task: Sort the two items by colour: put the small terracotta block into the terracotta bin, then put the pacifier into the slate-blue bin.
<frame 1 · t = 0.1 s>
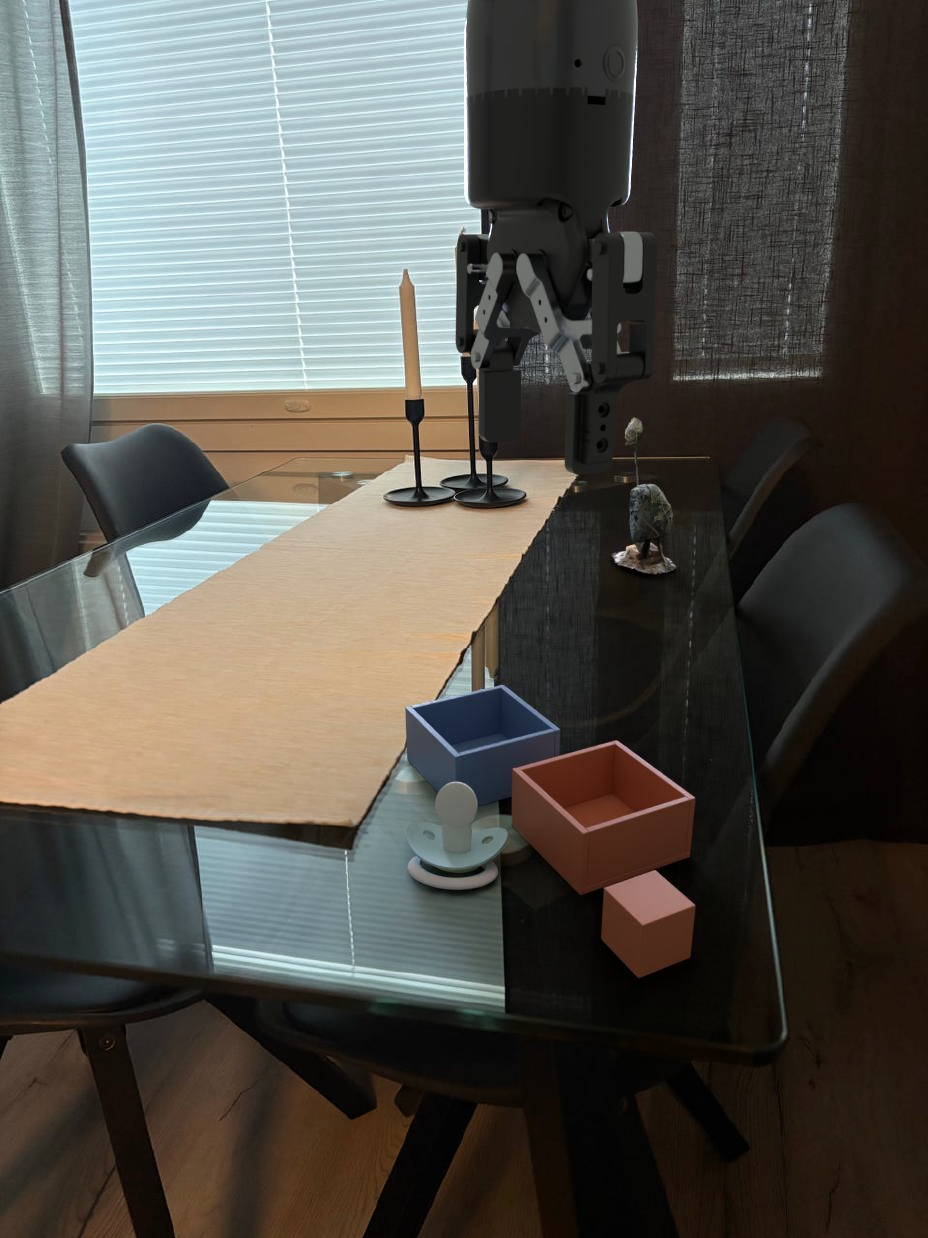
hand: (540, 455, 48), 32 cm above the table, tool pointing down, fingers open, 8 cm apart
plant with pod: (644, 568, 130), on the table
block: (645, 948, 60), on the table
pacifier: (454, 870, 68), on the table
terracotta bin: (598, 841, 71), on the table
blue bin: (480, 770, 81), on the table
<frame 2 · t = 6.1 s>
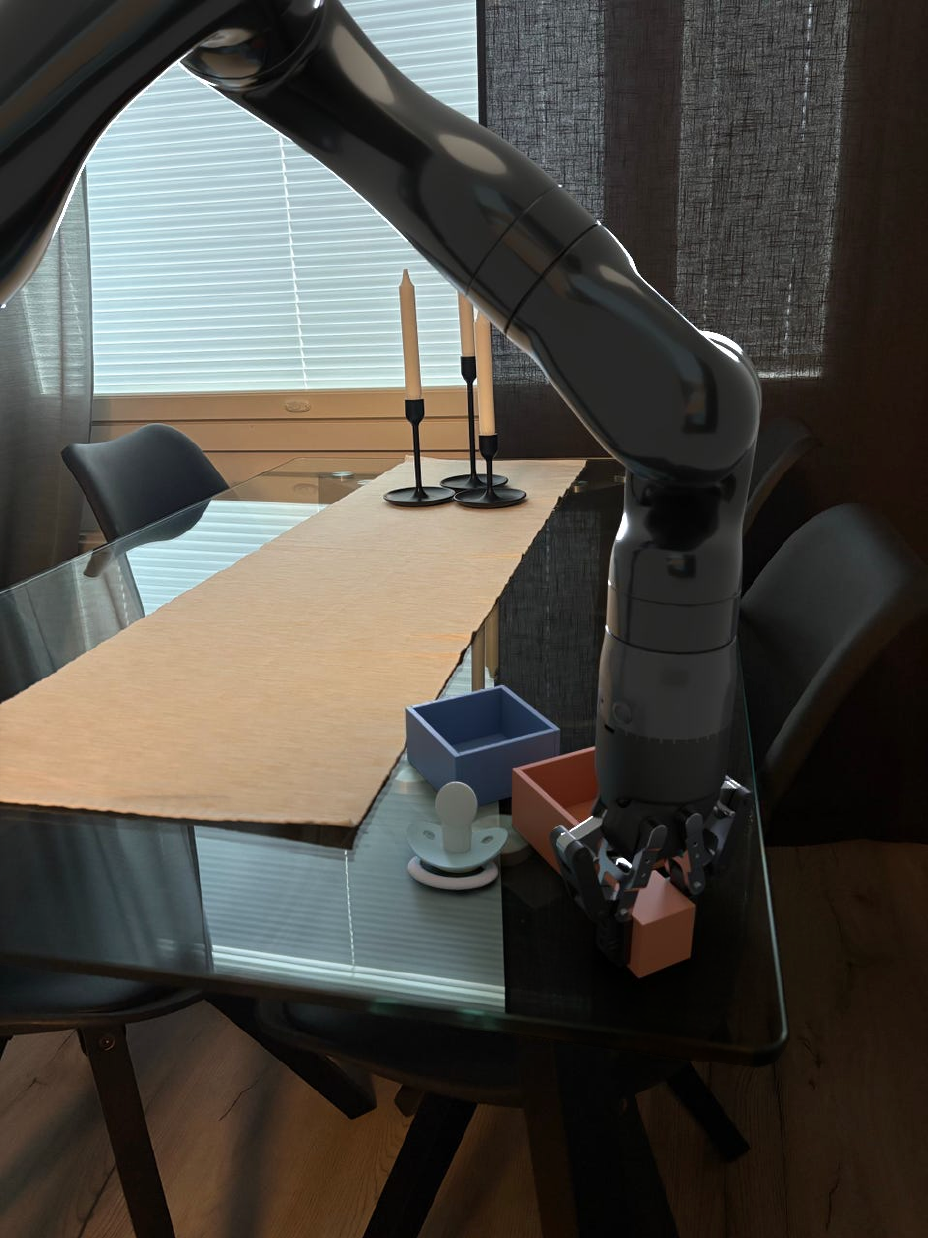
hand: (645, 945, 60), 0 cm above the table, tool pointing down, fingers closed on block, 4 cm apart
block: (645, 948, 60), on the table, touching gripper
everything else where it was.
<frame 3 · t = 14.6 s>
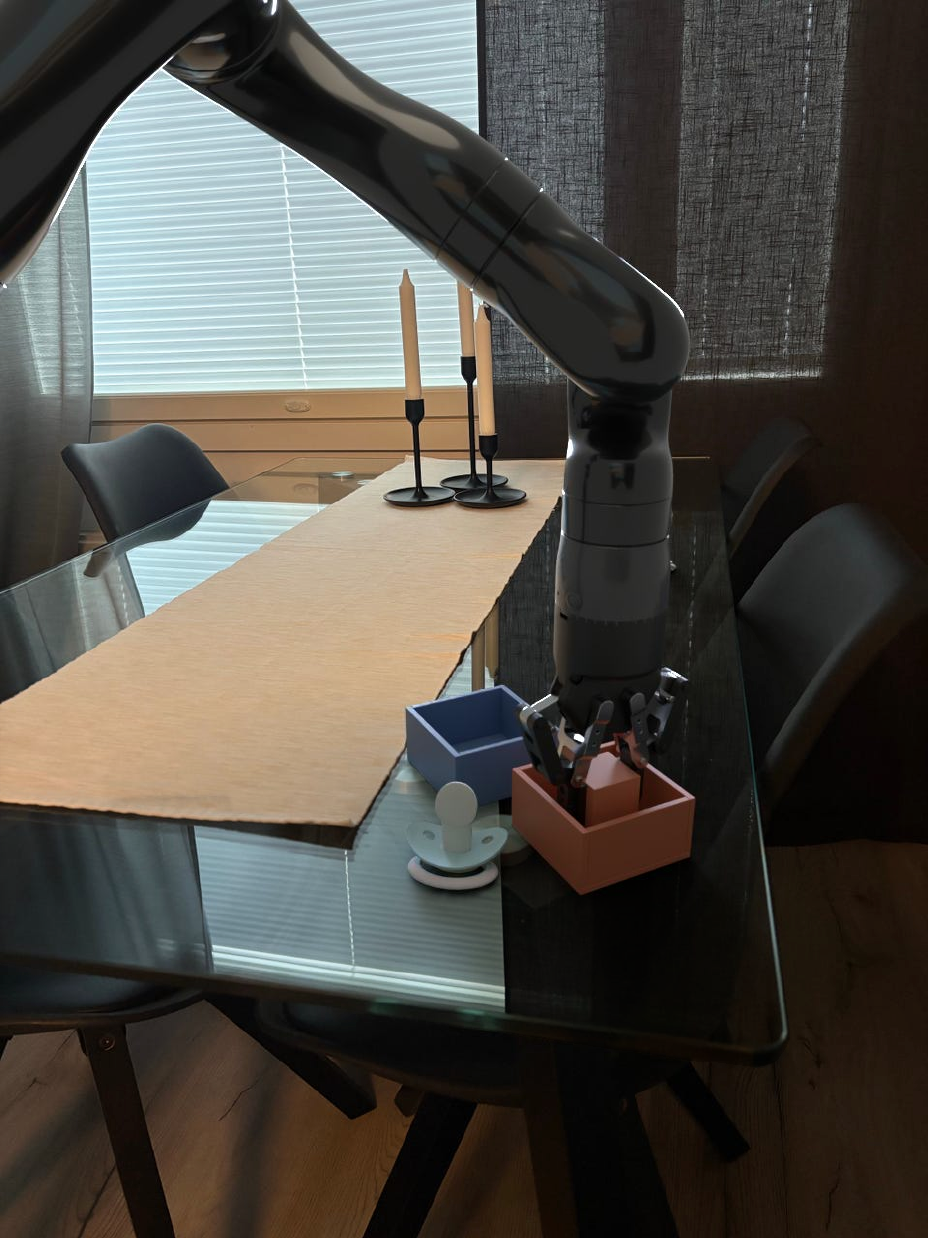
hand: (598, 814, 70), 2 cm above the table, tool pointing down, fingers closed on block, 4 cm apart
block: (598, 817, 70), point 2 cm above the table, touching gripper
everything else where it was.
when the fingers open (5 cm above the table, at t = 23.3 s): block drops 4 cm, resting on terracotta bin.
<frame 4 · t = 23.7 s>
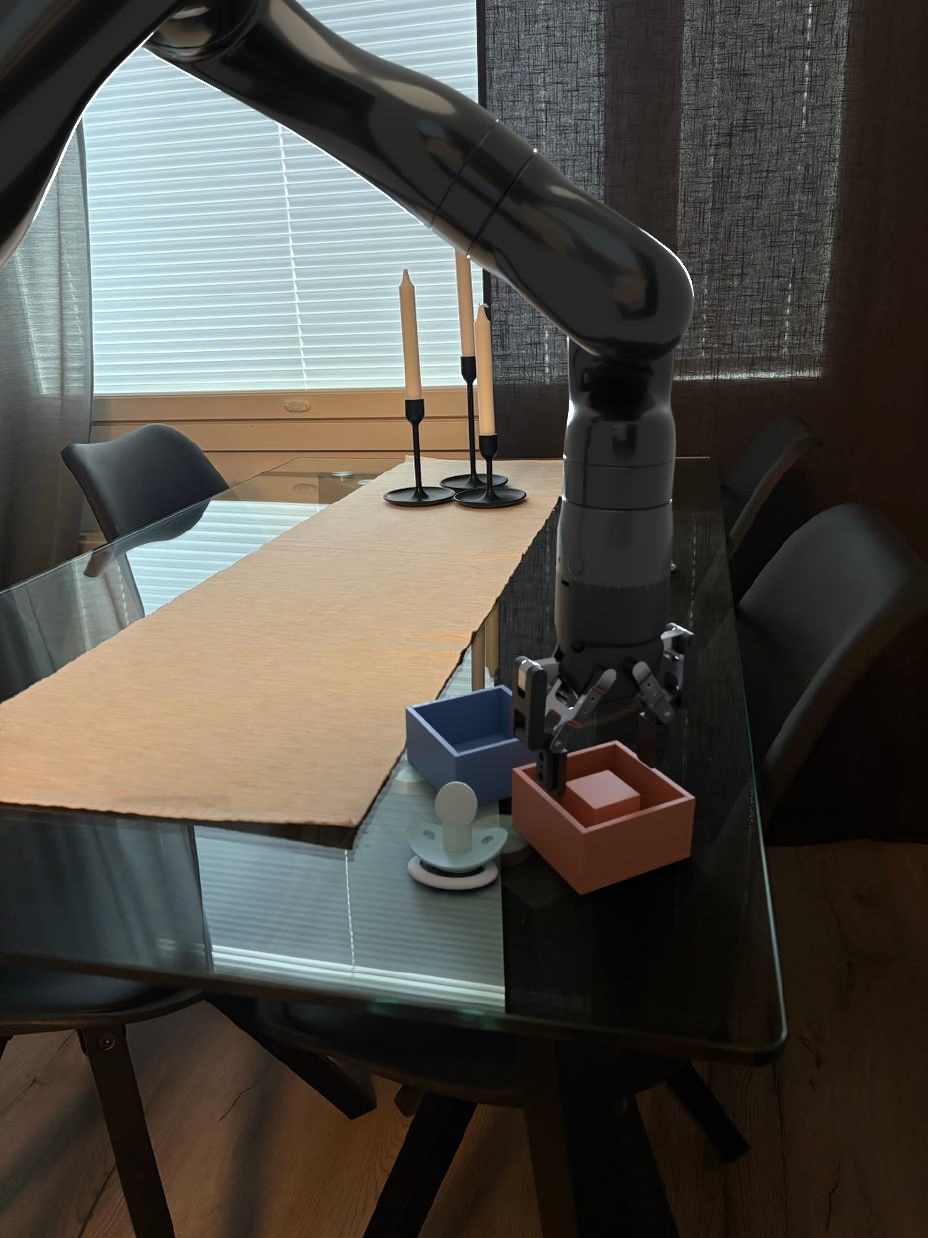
hand: (601, 777, 69), 5 cm above the table, tool pointing down, fingers open, 8 cm apart
block: (599, 835, 71), resting on terracotta bin
everything else where it was.
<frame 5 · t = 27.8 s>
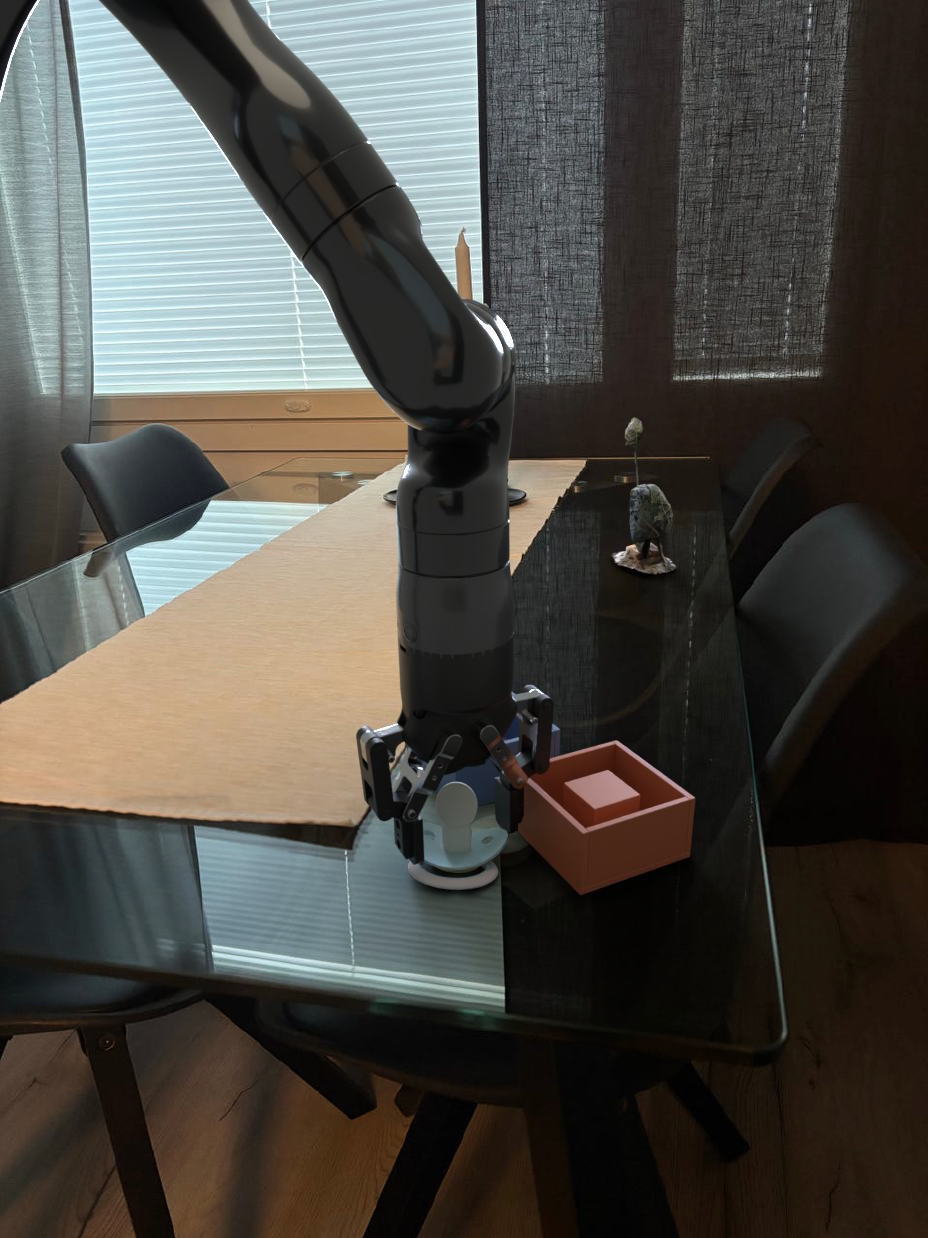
hand: (460, 842, 68), 2 cm above the table, tool pointing down, fingers closed on pacifier, 7 cm apart
pacifier: (454, 870, 68), on the table, touching gripper
everything else where it was.
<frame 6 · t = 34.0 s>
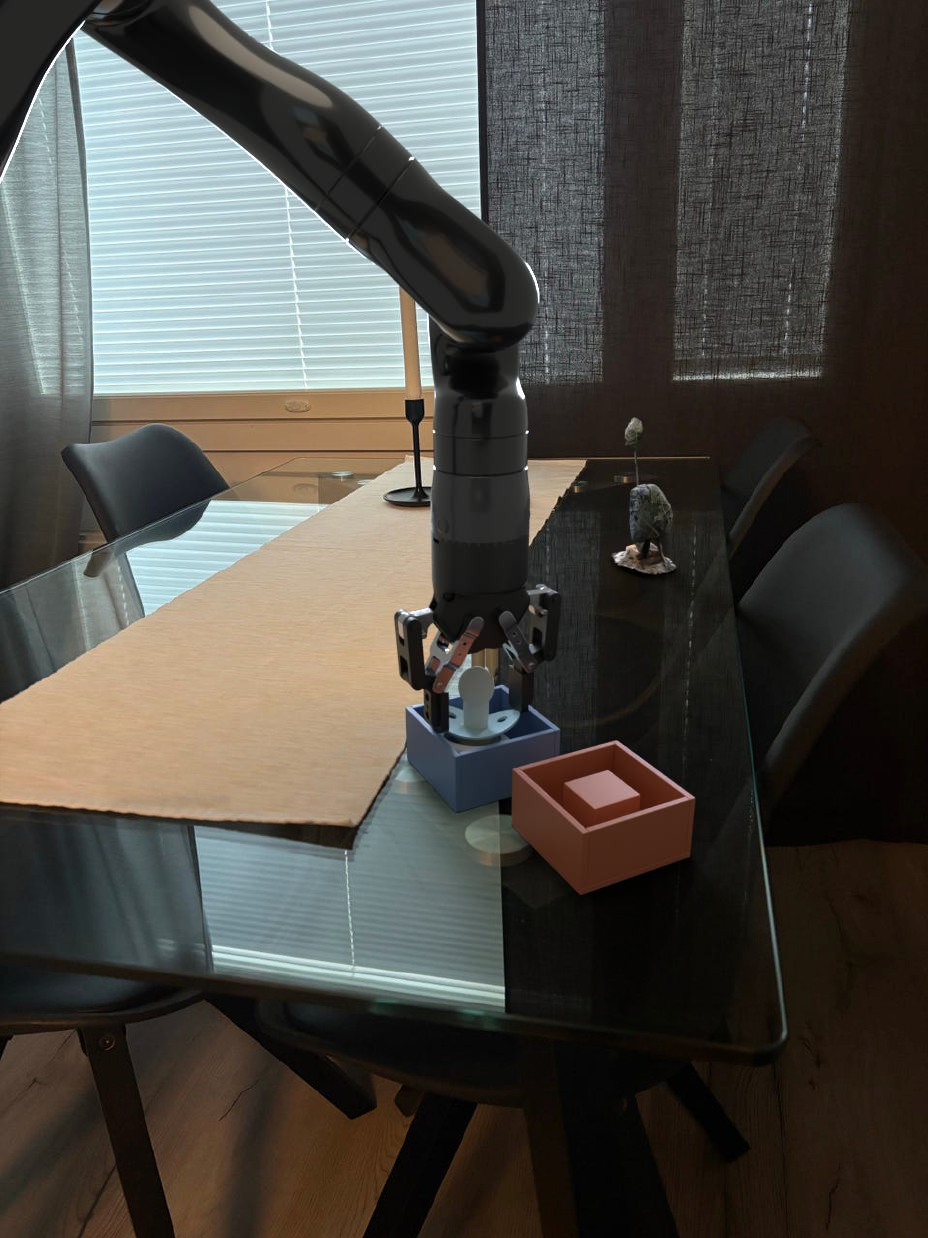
hand: (479, 718, 79), 5 cm above the table, tool pointing down, fingers closed on pacifier, 6 cm apart
pacifier: (473, 743, 79), point 3 cm above the table, touching gripper
everything else where it was.
when the fingers open (5 cm above the table, at t = 37.2 s): pacifier drops 2 cm, resting on blue bin.
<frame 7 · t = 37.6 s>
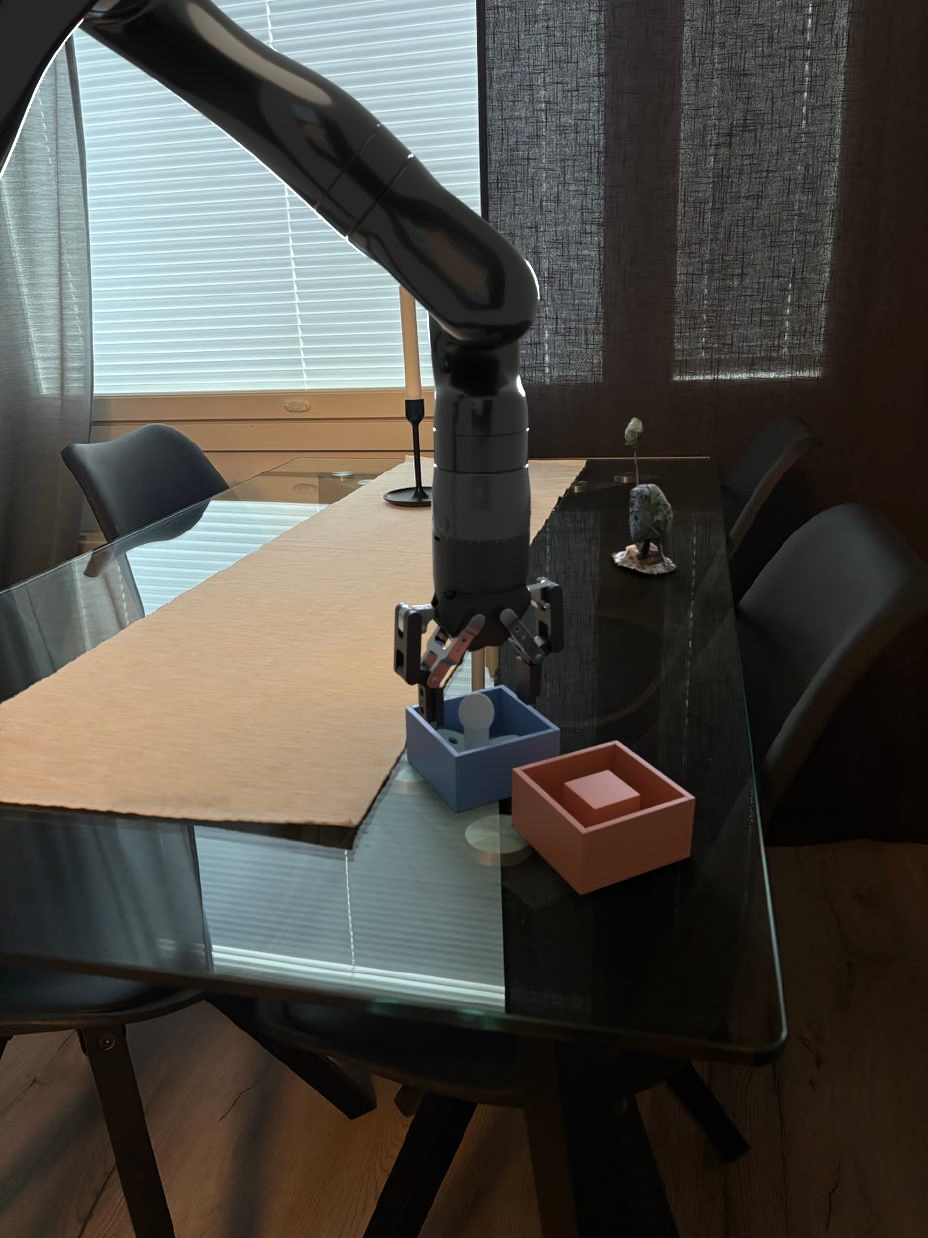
hand: (480, 712, 79), 6 cm above the table, tool pointing down, fingers open, 8 cm apart
pacifier: (474, 769, 80), resting on blue bin
everything else where it was.
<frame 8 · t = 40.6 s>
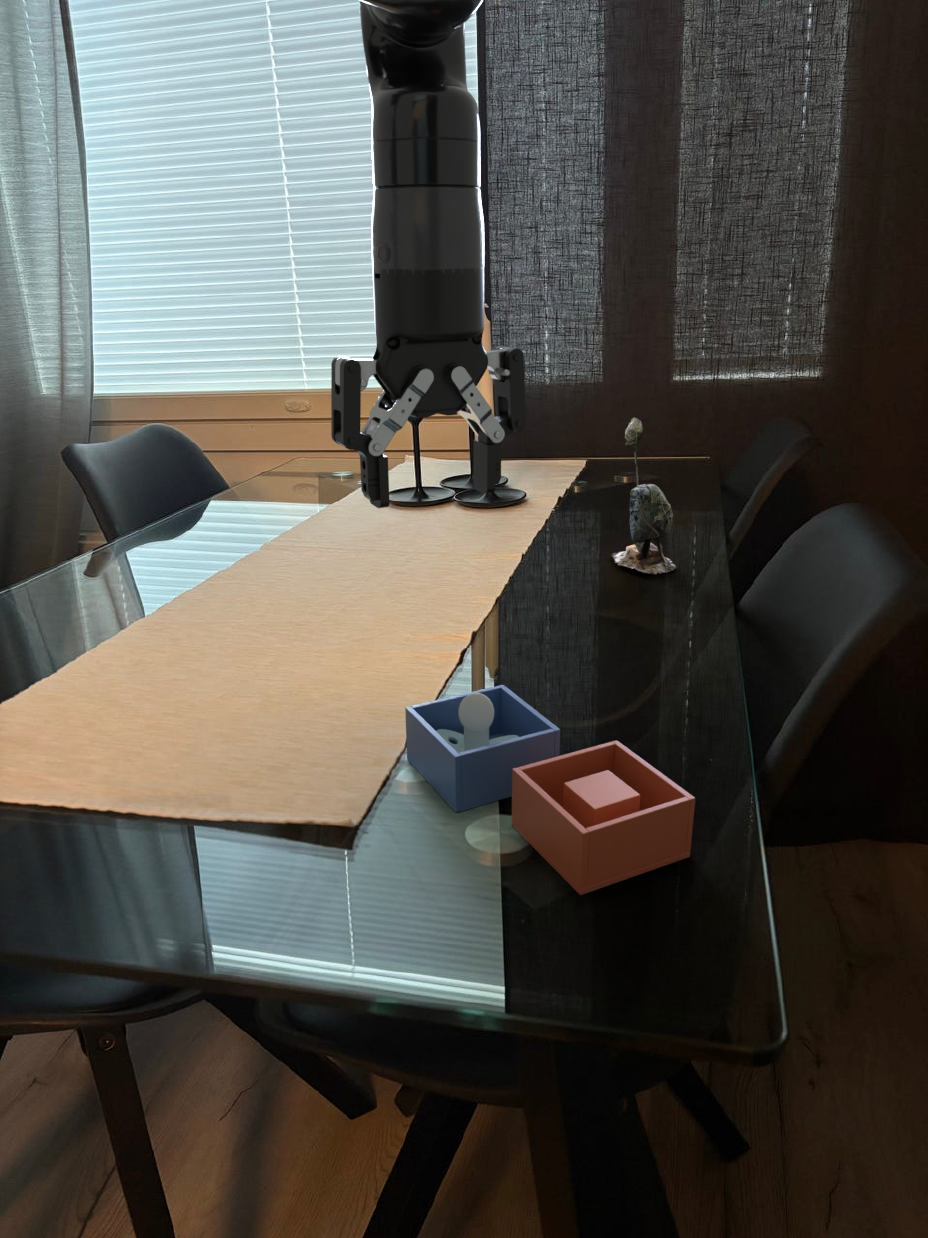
hand: (432, 498, 70), 24 cm above the table, tool pointing down, fingers open, 8 cm apart
nothing on the table moved.
at the end: block inside the target area in the terracotta bin (0.0 cm from its centre), point 0.5 cm above the terracotta bin's base; pacifier inside the target area in the blue bin (0.6 cm from its centre), point 0.3 cm above the blue bin's base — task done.
